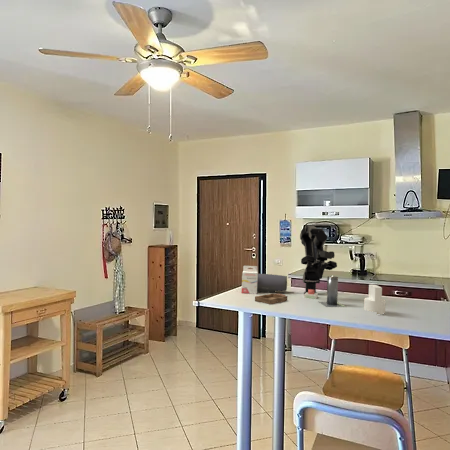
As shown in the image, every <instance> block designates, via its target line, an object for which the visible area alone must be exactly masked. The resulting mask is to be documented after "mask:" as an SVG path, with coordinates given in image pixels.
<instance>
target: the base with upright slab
mask: <svg viewBox="0 0 450 450" xmlns="http://www.w3.org/2000/svg"><path fill="white" fill-rule="evenodd" d="M363 301H364V302H363V305H364V306H363V309H364V311H366V312H372V313H376V315H377V314H383V313H385V314H386V299H384V298H383V287H381V286H379V285H377V284H368V296H367V297H365V298H364V300H363Z"/></svg>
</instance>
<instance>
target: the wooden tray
mask: <svg viewBox="0 0 450 450" xmlns="http://www.w3.org/2000/svg"><path fill="white" fill-rule="evenodd" d="M277 294H278V293H267V294H262V295H255V296H254V302H258V303H261V304H265V305H267V304H268V305H273V304H279V303H283V302H288V295H287V296H286V295H285V296H283V295H277Z"/></svg>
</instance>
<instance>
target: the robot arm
mask: <svg viewBox="0 0 450 450" xmlns="http://www.w3.org/2000/svg"><path fill="white" fill-rule="evenodd" d="M299 240H300V243H301V244H302V245H303V246H304V252H305V253H304V255H305V256H303V257H302V258H301V259H300V263H301V265H304V266H305V265H306V267H305V270H304V272H303V275H302V282H303V284H305V288H304V289H305V291H304V292H303V294H305V293H306V292H308V290H309V289H312V290H314V293H318V292H317V284H321V283H320V281H321V280H322V279H323V276H324V272H325V270H327V271H332V270H333V269H335V268H337V267H338V263H337V262H336V261H333V260H332V259H334V258H335V252H334V251H327V250H324V245H325V243H326V242H327V240H328V235H327V233H326V232H325V231H324V229H323V228H321V227H318V228H317V227H316V226H315V225H314V224H306V225H305V226H304V228H302V229H301V230H300V234H299ZM328 260H329V261H328ZM326 261H327V262H326Z"/></svg>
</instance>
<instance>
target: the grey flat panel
mask: <svg viewBox="0 0 450 450" xmlns="http://www.w3.org/2000/svg"><path fill="white" fill-rule="evenodd" d="M318 303H319V304H320V305H322V306H323V307H325V308H347V306H346V305H344V304H343V303H340V302H338V301H337V305H328V304H327V301H318Z"/></svg>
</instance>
